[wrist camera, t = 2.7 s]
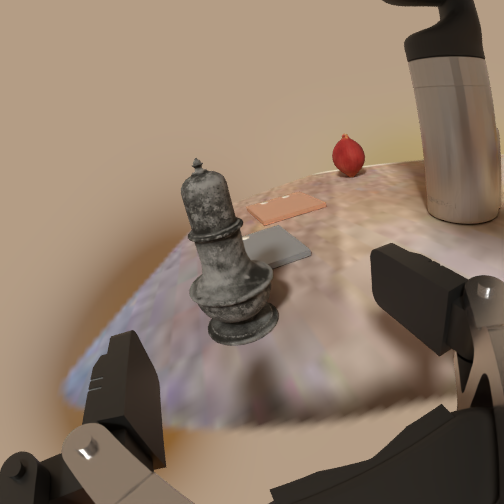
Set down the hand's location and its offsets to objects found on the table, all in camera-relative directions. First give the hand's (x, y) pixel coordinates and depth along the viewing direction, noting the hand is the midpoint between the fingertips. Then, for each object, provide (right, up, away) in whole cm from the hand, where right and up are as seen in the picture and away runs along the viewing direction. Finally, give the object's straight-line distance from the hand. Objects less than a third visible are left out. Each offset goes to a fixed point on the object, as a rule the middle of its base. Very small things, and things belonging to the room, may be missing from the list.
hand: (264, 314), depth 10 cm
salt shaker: (-1, -3, +13) cm, 14 cm away
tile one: (0, +2, +24) cm, 24 cm away
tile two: (+4, +8, +36) cm, 37 cm away
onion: (+18, +15, +45) cm, 51 cm away
